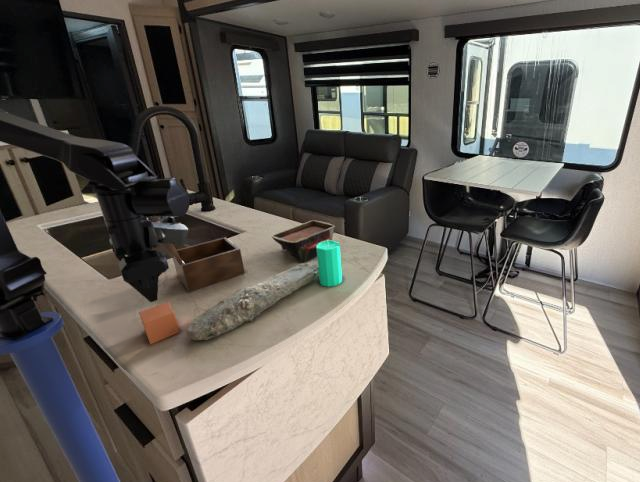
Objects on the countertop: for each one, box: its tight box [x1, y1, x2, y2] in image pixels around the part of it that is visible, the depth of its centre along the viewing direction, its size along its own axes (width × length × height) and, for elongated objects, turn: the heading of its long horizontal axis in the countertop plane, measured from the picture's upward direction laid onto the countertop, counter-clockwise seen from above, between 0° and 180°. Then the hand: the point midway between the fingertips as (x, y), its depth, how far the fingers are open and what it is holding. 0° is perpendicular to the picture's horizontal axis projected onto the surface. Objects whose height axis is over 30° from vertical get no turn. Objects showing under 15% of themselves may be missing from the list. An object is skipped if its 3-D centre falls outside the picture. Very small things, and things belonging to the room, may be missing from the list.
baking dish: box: [271, 219, 336, 263], centre depth 100 cm, size 14×18×10 cm
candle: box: [316, 239, 343, 288], centre depth 83 cm, size 6×6×12 cm
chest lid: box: [149, 217, 183, 265], centre depth 77 cm, size 14×12×1 cm
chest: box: [171, 236, 245, 293], centre depth 87 cm, size 14×12×7 cm
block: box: [138, 301, 180, 345], centre depth 65 cm, size 5×5×5 cm
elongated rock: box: [185, 260, 319, 341], centre depth 76 cm, size 35×5×10 cm
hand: (149, 291), depth 62 cm, fingers open, 9 cm apart
